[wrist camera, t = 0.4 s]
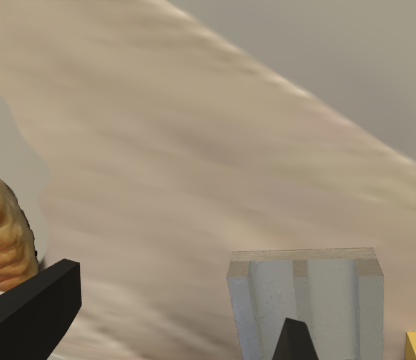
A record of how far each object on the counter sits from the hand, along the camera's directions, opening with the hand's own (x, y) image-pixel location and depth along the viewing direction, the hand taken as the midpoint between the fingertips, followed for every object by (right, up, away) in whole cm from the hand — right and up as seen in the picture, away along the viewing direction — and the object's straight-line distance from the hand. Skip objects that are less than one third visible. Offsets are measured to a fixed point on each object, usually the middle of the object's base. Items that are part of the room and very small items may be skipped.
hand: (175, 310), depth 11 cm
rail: (+8, -7, +12) cm, 17 cm away
